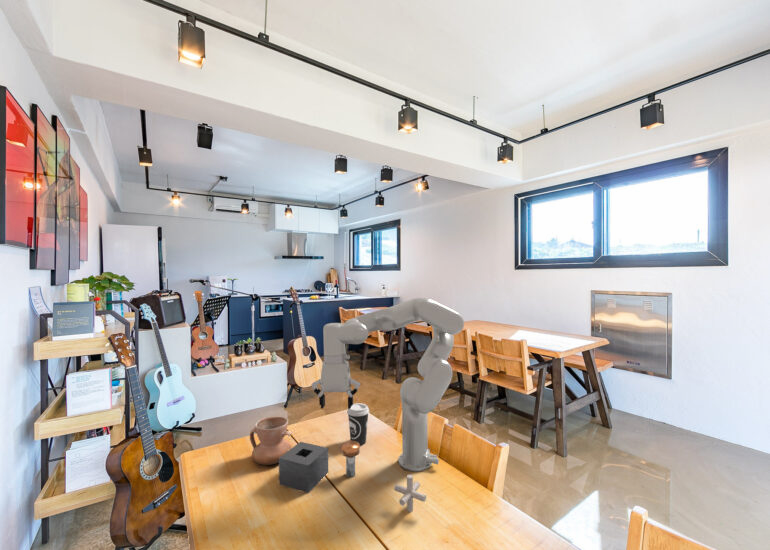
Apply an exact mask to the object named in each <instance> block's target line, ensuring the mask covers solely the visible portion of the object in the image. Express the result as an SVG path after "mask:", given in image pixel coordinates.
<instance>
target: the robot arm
mask: <svg viewBox="0 0 770 550" xmlns="http://www.w3.org/2000/svg"><path fill="white" fill-rule="evenodd" d="M420 321H421V322H424V323H426V324H429V326H431V328H432V333H433V334H432V335H433V336H432V339H431V341H430V344H429V345H428V347H427V348H426V350H425V352H424V353H423V354H422V356H421V358H420V359H419V361H418V364H417V372H418V373H419V375H420V376H421V377H423V380H421V379H420V378H418V377H414V376H411V377H408V378H407V377H406V379H405V380H404V381H403V382H402V384H401V385H400V401H401V402H400V403H401V411H402V412H401V413H402V414H401V415H402V417H401V419H402V421H401V422H402V424H401V428H402V430H401V431H402V434H401V435H402V441H401V442H402V449H401V450H402V452H401V453H400V455H399V456H398V461H397V463H398V465H399V466H400V467H401V468H403V469H404V470H407V471H410V472H423V471H426V470H428V469H429V468H430V467H431V466H432V464H435V465H439V461H440V459H439V458H438V455H437V454H432V453H431V452H430V451H431V449H430V448H429V447H428V440H429V439H428V423H429V422H428V420H429V419H428V414H429V413H431V412H433V411H434V410H435V408H436V407H437V406H438V404H439V402H440V401H441V399H442V397H443V395H444V394H445V393H446V391H447V389H448V388H449V386H450V383H451V382H452V379H453V369H452V366H451V364H450V363H449V362H448V361H447V360H448V358H449V357H450V355H451V353H452V351H453V348H454V345H455V343H454V342H455V339H454V338H455V337H454V336H455V335H458V334H460V333H461V332H462V331H463V329H464V326H465V320H464V317H463V316H462V315H461V314H460V313H459V312H457V311H455V310H453V309H452V308H450V307H448V306H445V305H443V304H441V303H439V302H437V301H435V300H433V299H431V298H425V297H424V298H423V297H415V298H412V299H409V300H406V301H404V302H401V303H398V304H396V305H395V304H394V305H392V306H389V307H386V308H382V309H378V310H376V311H371V312H367V313H364V314H360V315H358V316H356V317H352V318H350V319H348V320H346V321H345V322H344V323H342V322H330V323H326V324H324V325H323V329H322V331H323V360H324V361H323V362H322V365H321V370H320V371H321V372H320V378H319V379H317V380H315V381H314V382H312V383H311V388H312V390H313V392H314V393H315V394H316V395H317V396H318V399H319V401H318V402H319V406H320V409H321V410H322V409H324V407H325V406H326V395H325V393H346V394H347V396H348V397H347V409H348V408H349V409H350V408H351V406H352V405H353V404H354V396H355V394H356V393H358V390H359V388H360V386H361V383H360V382H359V381H358V380H357V381H356V379H354V378H352V377H351V376H352V375H351V370H350V369H351V368H350V364H349V363H350V362H349V361H348V360H350V358H351V357H350V354H347V351H346V344H347V345H349V344H350V345H361V344H363V343H364V342H366V340H367V339H368V337H369V333H373V332H378V331H395V330H398V329H401V328H403V327H406V326H409V325H410V324H414V323H416V322H420ZM318 385H320V388H319V387H318ZM352 385H353V386H354V388H353V389H352V388H351V386H352Z"/></svg>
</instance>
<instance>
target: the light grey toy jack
mask: <svg viewBox="0 0 770 550" xmlns="http://www.w3.org/2000/svg"><path fill="white" fill-rule="evenodd" d="M420 486H421V484H420V482H419V481H418V480H417V481H414V475H412V474H407V475H406V487H405V486H403V485H400V484H398V483H396V484H395V485H394V487H393V489H394V490H393V491H395V492H398V493H400V494H403V495H402V496H401V498H400V499H399V501H398V503H399V505H400V506H405V505H406V510H407V511H408V512H413V511H414V499H416V500H418V501H420V502H422V503H425V502H426V500H427V495H426V494H423V493H421V492H419V491H417V490H418V489H419V488H420Z"/></svg>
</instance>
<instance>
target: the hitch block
mask: <svg viewBox="0 0 770 550" xmlns="http://www.w3.org/2000/svg"><path fill="white" fill-rule="evenodd" d="M327 473H328V474H329V447H326V446H322V445H321V446H320V445H317V444H314V443H309V442H304V441H300V442H298V443H297V444H296V445H294V446H292V448H291V449H290V450H289V451H288V452H286V453H285V454H284V455H282V456H281V457H280V458H279V463H278V485H279V486H282V487H286V488H290V489H293V490H296V491H301V492H304V493H306V494H310V492H312V491H313V490H314V488H315V487H316V486H318V484H319V483H320V482H321V481H322V480H323V479H324V478H325V477H326V476H327V475H328V474H327ZM326 474H327V475H326ZM324 476H325V477H324ZM323 477H324V478H323ZM321 479H322V480H321Z"/></svg>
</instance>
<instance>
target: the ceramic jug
mask: <svg viewBox="0 0 770 550" xmlns="http://www.w3.org/2000/svg"><path fill="white" fill-rule="evenodd" d="M288 426H289V419H288V418H287V417H284V416H269V417H263V418H261V419H258V420H257V421H256V423H255V425H254V427H253V428H252V429H251V430H250V432H249V441H250V443H251V445H252V448H253V450H252V451H251V452H252V453H251V456H252V460H253V461H254V462H255V463H257V464H259V465H264V466H265V465H266V466H269V465H272V466H273V465H275V464H276V465H277V464H279V458H280V457H281V456H282V455H284V454H285V453H286V452H288V451H289V450H290V449H292V448H293V446H292V445H291V443H290V442H289V441H288V440H287V439H284V438H285V437H286V436H288V437H290V436H291V434H292V433H293V432H292V431H291V430H288ZM255 434H256V436H257V438H258V440H259V442H260V443H258V444H257V443H256V440H255Z"/></svg>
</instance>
